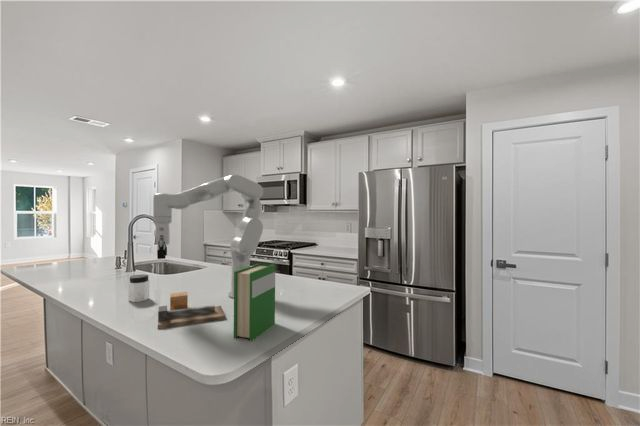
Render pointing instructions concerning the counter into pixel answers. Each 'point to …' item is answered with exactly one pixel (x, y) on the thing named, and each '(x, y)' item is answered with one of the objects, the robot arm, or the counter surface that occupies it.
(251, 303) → the hardback book
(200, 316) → the rail board
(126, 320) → the counter surface
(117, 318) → the counter surface
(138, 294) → the jar
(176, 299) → the wooden block
